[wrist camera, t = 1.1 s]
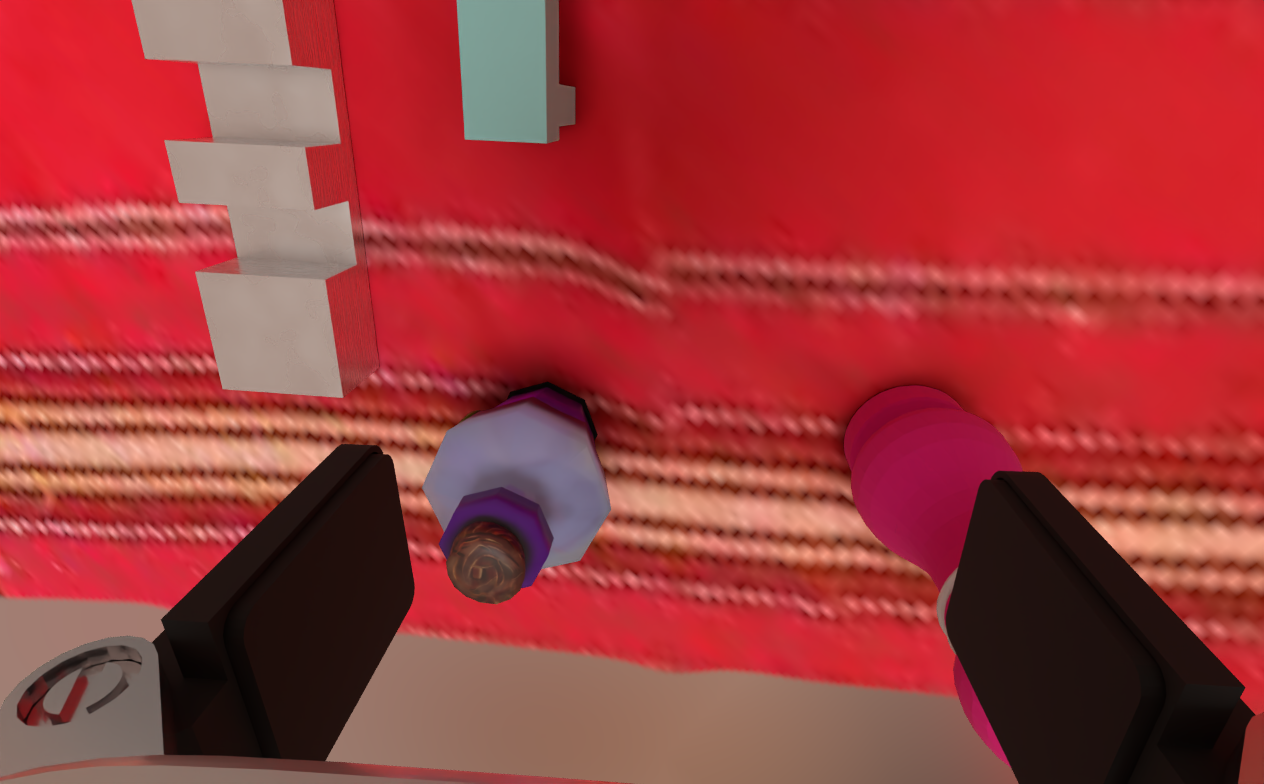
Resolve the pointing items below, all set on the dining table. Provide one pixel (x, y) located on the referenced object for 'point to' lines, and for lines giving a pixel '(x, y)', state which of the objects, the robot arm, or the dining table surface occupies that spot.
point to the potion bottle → (517, 491)
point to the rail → (273, 190)
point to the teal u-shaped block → (512, 71)
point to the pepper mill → (926, 491)
